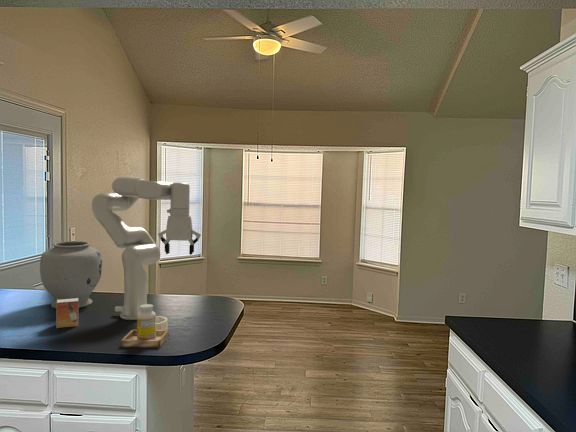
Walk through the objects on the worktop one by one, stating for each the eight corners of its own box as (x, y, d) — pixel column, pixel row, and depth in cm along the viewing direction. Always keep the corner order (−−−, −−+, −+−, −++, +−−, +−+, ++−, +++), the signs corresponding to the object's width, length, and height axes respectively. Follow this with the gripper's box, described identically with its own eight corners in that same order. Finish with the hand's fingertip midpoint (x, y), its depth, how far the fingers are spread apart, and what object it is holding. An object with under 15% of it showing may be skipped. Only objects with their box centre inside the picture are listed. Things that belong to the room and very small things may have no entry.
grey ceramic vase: (113, 303, 207) (113, 242, 205) (59, 315, 185) (59, 248, 183) (81, 295, 221) (81, 238, 220) (28, 305, 199) (28, 242, 197)
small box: (56, 328, 168) (56, 302, 168) (56, 324, 173) (56, 299, 173) (78, 326, 172) (78, 300, 171) (78, 322, 177) (78, 297, 176)
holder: (134, 334, 164) (134, 324, 164) (143, 325, 175) (143, 315, 175) (163, 334, 164) (163, 324, 164) (170, 325, 175) (170, 316, 175)
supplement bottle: (139, 336, 160) (139, 303, 159) (157, 336, 160) (157, 303, 160) (134, 342, 153) (134, 308, 153) (153, 342, 154) (153, 308, 153)
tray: (120, 346, 151) (120, 340, 150) (132, 335, 163) (132, 329, 162) (160, 347, 151) (160, 340, 151) (168, 336, 163) (168, 330, 163)
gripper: (156, 212, 169) (155, 254, 170) (199, 213, 169) (198, 255, 170) (161, 211, 177) (160, 252, 178) (202, 212, 177) (202, 253, 178)
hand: (179, 253), depth 174 cm, fingers open, 9 cm apart
